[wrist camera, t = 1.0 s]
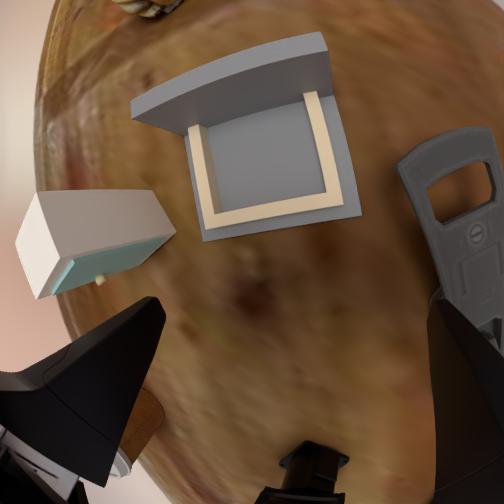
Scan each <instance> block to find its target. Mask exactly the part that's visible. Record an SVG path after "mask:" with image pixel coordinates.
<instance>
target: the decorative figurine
mask: <svg viewBox="0 0 504 504" xmlns="http://www.w3.org/2000/svg"><path fill="white" fill-rule="evenodd" d="M111 1H113V2H114V3H118V4H120V6H121V8H122V9H123V10H124V11H125V12H126V13H129V14H132V15H136V14H137V15H140V16H143V17H150V18H153V17H156V16H157V14H159V13H160V11H164V12H166V13H169V12H170V11H171V10H172V9H173V8H175V7H176V6H177V5H179V3H180V2H181V1H182V0H111Z"/></svg>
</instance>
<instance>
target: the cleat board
mask: <svg viewBox="0 0 504 504" xmlns="http://www.w3.org/2000/svg"><path fill="white" fill-rule="evenodd" d="M130 102H131V117H132V119H133V120H137V121H140V122H143V123H146V124H149V125H152V126H155V127H159V128H162V129H165V130H167V131H170V132H173V133H176V134H179V135H182V136H184V137H185V143H186V149H187V156H188V162H189V168H190V174H191V180H192V185H193V191H194V196H195V202H196V207H197V213H198V218H199V223H200V228H201V233H202V238H203V242H207V241H212V240H218V239H223V238H229V237H235V236H240V235H246V234H252V233H257V232H263V231H269V230H275V229H281V228H287V227H293V226H299V225H305V224H311V223H317V222H323V221H330V220H336V219H342V218H349V217H355V216H362V213H361V207H360V201H359V196H358V190H357V185H356V180H355V175H354V171H353V166H352V162H351V157H350V153H349V149H348V145H347V141H346V137H345V133H344V129H343V125H342V122H341V118H340V115H339V111H338V108H337V104H336V101H335V98H334V93H333V84H332V75H331V67H330V60H329V53H328V49H327V46H326V44H325V41H324V39H323V37H322V34H321V32H314V33H309V34H304V35H299V36H295V37H290V38H286V39H282V40H278V41H274V42H270V43H266V44H263V45H259V46H256V47H253V48H249V49H246V50H243V51H240V52H237V53H234V54H231V55H228V56H226V57H223V58H220V59H218V60H215V61H212V62H210V63H207V64H205V65H202V66H200V67H197V68H195V69H193V70H190V71H188V72H186V73H184V74H181V75H179V76H177V77H175V78H173V79H171V80H169V81H167V82H165V83H163V84H161V85H159V86H157V87H155V88H153V89H151V90H149V91H147V92H145V93H144V94H142V95H140V96H138V97H136V98H135V99H133V100H131V101H130Z"/></svg>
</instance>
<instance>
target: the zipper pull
mask: <svg viewBox="0 0 504 504" xmlns="http://www.w3.org/2000/svg"><path fill="white" fill-rule="evenodd" d="M473 162H483V163H484V164H485V165H486V169H487V172H488V175H489V179H490V183H491V186H492V192H491V198H490V200H489V201H487V202H485V203H483V204H481V205H479V206H477V207H475V208H473V209H471V210H469V211H467V212H464V213H462V214H460V215H458V216H456V217H454V218H452V219H450V220H448V221H446V222H443V223H439V222H438V221H437V220H436V219H435V216H434V213H433V209H432V206H431V203H430V200H429V197H428V194H427V191H428V187H429V186H431V185H432V184H433V183H434V182H435V181H437V180H438V179H439V178H440V177H441V176H443V175H446V174H448V173H450V172H453V171H455V170H457V169H460V168H462V167H464V166H466V165H469V164H471V163H473ZM395 170H396V172H397V174H398V176H399V178H400V181H401V183H402V185H403V187H404V189H405V191H406V194H407V196H408V198H409V200H410V203H411V205H412V207H413V210H414V212H415V215H416V217H417V220H418V222H419V224H420V227H421V229H422V231H423V234H424V236H425V239H426V241H427V244H428V247H429V250H430V253H431V256H432V259H433V262H434V265H435V268H436V271H437V275H438V278H439V282H440V287H439V288H438V289H437V290H436V292H435V293H434V294H433V295H432V296H431V298H430V308H431V305H432V302H433V300H434V299H439V298H446V299H448V300H449V301H450V302H451V303H452V304H453V305H454V306H455V307H456V308H457V309H458V310H459V311H460V312H461V313H462V314H463V315H464V316H465V317H466V318H467V319H468V320H469V321H470V322H471V323H472V324H473V325H474V326H475V327H476V328H477V329H478V330H479V331H480V332H481V333H482V334H483V335H484V336H485V337H486V338H487V339H488V340H489V342H490V343H491V344H492V345H493V346H494V347H495V348H496V349H497V350H498V351H499V353H500V354H501V355H502V356H503V357H504V174H503V169H502V165H501V161H500V157H499V153H498V150H497V146H496V143H495V139H494V136H493V133H492V130H491V129H490V128H489V127H472V126H469V127H464V128H460V129H455V130H451V131H448V132H445V133H442V134H440V135H437V136H435V137H432V138H430V139H428V140H427V141H425V142H423V143H421V144H419V145H418V146H416V147H414V148H413V149H412V150H411V151H410V152H408V153H407V154H406V155H405V156H404V157H403V158H402V159H400V160H399V161H398V162H397V163H396V164H395Z"/></svg>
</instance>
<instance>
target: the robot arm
mask: <svg viewBox="0 0 504 504" xmlns="http://www.w3.org/2000/svg"><path fill="white" fill-rule="evenodd" d="M165 321H166V313H165V311H164V309H163V307H162V305H161V303H160V301H159V299H158V298H157V297H152V296H147V297H144V298H143V299H141V300H140V301H138V302H136V303H135V304H133V305H131V306H130V307H128V308H126V309H125V310H123V311H121V312H120V313H118V314H117V315H115V316H113V317H112V318H110V319H108V320H107V321H105V322H104V323H102V324H100V325H99V326H97V327H95V328H94V329H92V330H91V331H89V332H87V333H86V334H84V335H83V336H81V337H79V338H78V339H76V340H75V341H73V342H72V343H70V344H68V345H67V346H65V347H63V348H62V349H60V350H59V351H57V352H56V353H54V354H52V355H50V356H48V357H46V358H45V359H43V360H41V361H39V362H37V363H36V364H34V365H32V366H30V367H28V368H26V369H24V370H22V371H20V372H12V373H11V372H1V371H0V504H89V503H88V499H87V496H86V492H85V488H84V484H83V482H81V481H80V480H79V477H82V478H84V479H86V480H88V481H90V482H92V483H95V484H96V485H99V486H101V487H103V488H104V487H105V486H106V483H107V480H108V477H109V474H110V471H111V468H112V465H113V462H114V459H115V456H116V454H117V451H118V448H119V445H120V442H121V439H122V436H123V434H124V431H125V428H126V426H127V423H128V420H129V418H130V415H131V412H132V410H133V407H134V405H135V402H136V399H137V397H138V394H139V392H140V389H141V387H142V384H143V382H144V380H145V377H146V375H147V372H148V370H149V367H150V365H151V363H152V360H153V358H154V355H155V352H156V349H157V346H158V343H159V340H160V336H161V333H162V330H163V327H164V324H165ZM427 334H428V346H429V364H430V376H431V384H432V392H433V402H434V414H435V430H436V478H435V493H434V503H433V504H504V357H503V356H502V355H501V354H500V353H499V351H498V350H497V349H496V348H495V347H494V346H493V345H492V344H491V343H490V342H489V340H488V339H487V338H486V337H485V336H484V335H483V334H482V333H481V332H480V331H479V330H478V329H477V328H476V327H475V326H474V325H473V324H472V323H471V322H470V321H469V320H468V319H467V318H466V317H465V316H464V315H463V314H462V313H461V312H460V311H459V310H458V309H457V308H456V307H455V306H454V305H453V304H452V303H451V302H450V301H449V300H448V299H446V298H439V299H434V300H433V302H432V305H431V308H430V312H429V315H428V319H427ZM348 462H349V457H346V456H344V455H341V454H338V453H336V452H333V451H331V450H328V449H326V448H323V447H321V446H319V445H316V444H314V443H312V442H309V441H305V442H304V443H302V444H301V445H300V446H299V447H298V448H296V449H295V450H294V451H293V452H291V453H290V454H289V455H288V456H286V457H285V458H284V459H282V460H281V461H280V462H279V466H280V467H283V468H285V469H287V472H286V475H285V478H284V481H283V484H282V486H281V489H275V488H271V487H267V486H266V487H265V488H264V490H263V491H261V493H260V495H259V497H258V498H257V500H256V502H255V503H254V504H344V502H345V493H340V494H338V493H334V488H335V482H336V481H337V475H338V469H340V468H341V467H343V466H344V465H345V464H347V463H348Z"/></svg>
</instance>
